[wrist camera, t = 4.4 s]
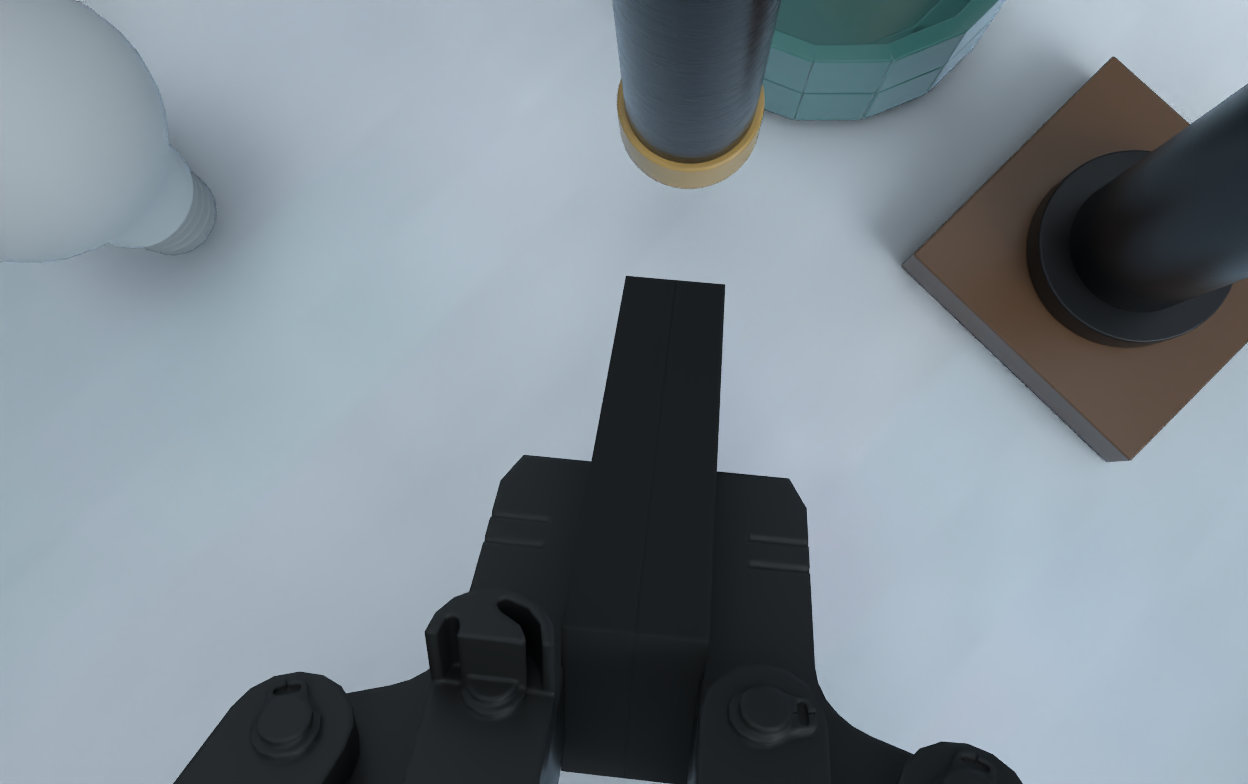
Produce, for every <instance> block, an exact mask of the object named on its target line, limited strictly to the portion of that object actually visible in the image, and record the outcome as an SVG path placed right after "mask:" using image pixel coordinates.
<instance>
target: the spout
mask: <svg viewBox="0 0 1248 784" xmlns="http://www.w3.org/2000/svg"><path fill="white" fill-rule="evenodd" d="M780 5H781V0H613V8H614V17H615V26H616V34H617V43H618V52H619V61H620V69H621V80H620V84H619V88H618V94H617V110H618V118H619V126H620V133H621V137H622V141H623V144H624V146H625V149H626V151H627V153H628V155H629V156H630V158H631V159H632V161H633V162H634V163H635V165H636V166H637V167H638V168H639V169H640V170H641V171H642V172H644V173H645V174H646V175H647V176H649V177H650V178H652V179H654V180H655V181H657V182H660V183H662V184H664V185H668V186H671V187H676V188H682V189H695V188H703V187H707V186H711V185H713V184H716V183H719V182H721V181H723V180H724V179H726V178H728V177H729V176H731V175H732V174H734V173H735V172H736V171H737V170H738V169H739V168H740V167H741V166H742V165H743V164H744V163H745V161H746V160H747V159H748V157H749V156H750V154H751V153H752V151H753V148H754V146H755V144H756V141H757V138H758V134H759V130H760V126H761V122H762V118H763V113H764V107H765V95H764V87H763V79H764V75H765V71H766V66H767V62H768V57H769V53H770V49H771V44H772V40H773V35H774V31H775V27H776V22H777V18H778V13H779V9H780Z"/></svg>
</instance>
